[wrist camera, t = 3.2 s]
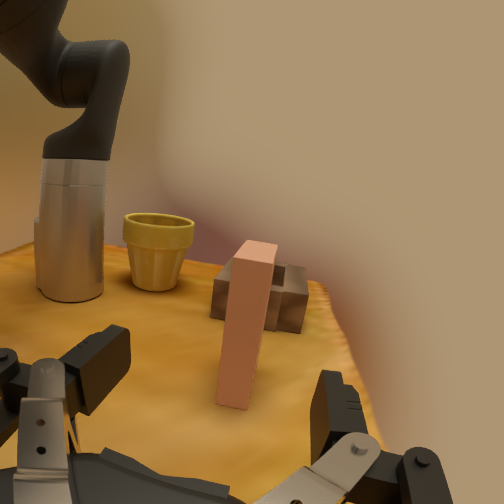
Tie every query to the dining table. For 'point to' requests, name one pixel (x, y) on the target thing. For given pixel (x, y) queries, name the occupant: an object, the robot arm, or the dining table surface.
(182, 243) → the plant pot
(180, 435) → the dining table surface
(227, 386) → the tall pink pillar
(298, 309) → the walnut frame
